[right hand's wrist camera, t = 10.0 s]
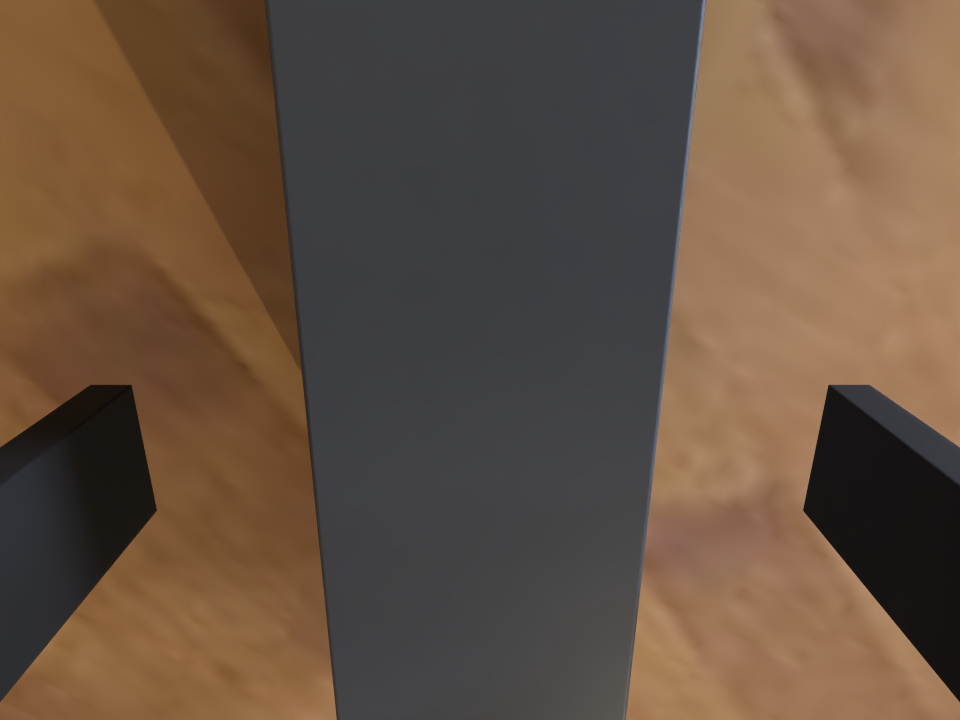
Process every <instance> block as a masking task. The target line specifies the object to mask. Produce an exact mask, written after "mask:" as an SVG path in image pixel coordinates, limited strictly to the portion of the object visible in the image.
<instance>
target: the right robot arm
mask: <svg viewBox="0 0 960 720" xmlns="http://www.w3.org/2000/svg"><path fill="white" fill-rule="evenodd" d="M156 511H157V509H156V504H155V499H154V494H153V489H152V484H151V479H150V474H149V469H148V464H147V460H146V455H145V450H144V445H143V440H142V435H141V430H140V425H139V420H138V415H137V410H136V405H135V400H134V395H133V391H132V386H131V385H90V386H88V387H87V388H86V389H84V390H83V391H81V392H80V393H78V394H77V395H75V396H74V397H73V398H71V399H70V400H68V401H67V402H65V403H64V404H62V405H61V406H60V407H58V408H57V409H55V410H54V411H52V412H51V413H50V414H48V415H47V416H45V417H44V418H42V419H41V420H39V421H38V422H37V423H35V424H34V425H32V426H31V427H29V428H28V429H26V430H25V431H24V432H22V433H21V434H19V435H18V436H16V437H15V438H13V439H12V440H11V441H9V442H8V443H6V444H5V445H3V446H2V447H0V702H1V700H2V699H3V698H4V697H5V696H6V694H7V693H8V692H9V691H10V689H11V688H12V687H13V686H14V685H15V683H16V682H17V681H18V680H19V678H20V677H21V676H22V675H23V674H24V672H25V671H26V670H27V669H28V667H29V666H30V665H31V664H32V663H33V661H34V660H35V659H36V658H37V656H38V655H39V654H40V653H41V652H42V650H43V649H44V648H45V647H46V645H47V644H48V643H49V642H50V640H51V639H52V638H53V637H54V636H55V634H56V633H57V632H58V631H59V629H60V628H61V627H62V626H63V625H64V623H65V622H66V621H67V620H68V618H69V617H70V616H71V615H72V614H73V612H74V611H75V610H76V609H77V607H78V606H79V605H80V604H81V603H82V601H83V600H84V599H85V598H86V596H87V595H88V594H89V593H90V592H91V590H92V589H93V588H94V587H95V585H96V584H97V583H98V582H99V581H100V579H101V578H102V577H103V576H104V574H105V573H106V572H107V571H108V570H109V568H110V567H111V566H112V565H113V563H114V562H115V561H116V560H117V559H118V557H119V556H120V555H121V554H122V552H123V551H124V550H125V549H126V548H127V546H128V545H129V544H130V543H131V541H132V540H133V539H134V538H135V537H136V535H137V534H138V533H139V532H140V530H141V529H142V528H143V527H144V526H145V524H146V523H147V522H148V521H149V519H150V518H151V517H152V516H153V515H154V513H155V512H156ZM803 511H804V512H805V513H806V515H807V516H808V517H809V518H810V519H811V521H812V522H813V523H814V524H815V526H816V527H817V528H818V529H819V530H820V532H821V533H822V534H823V535H824V537H825V538H826V539H827V540H828V541H829V543H830V544H831V545H832V546H833V548H834V549H835V550H836V551H837V552H838V554H839V555H840V556H841V557H842V559H843V560H844V561H845V562H846V563H847V565H848V566H849V567H850V568H851V570H852V571H853V572H854V573H855V574H856V576H857V577H858V578H859V579H860V581H861V582H862V583H863V584H864V585H865V587H866V588H867V589H868V590H869V592H870V593H871V594H872V595H873V596H874V598H875V599H876V600H877V601H878V603H879V604H880V605H881V606H882V607H883V609H884V610H885V611H886V612H887V614H888V615H889V616H890V617H891V618H892V620H893V621H894V622H895V623H896V625H897V626H898V627H899V628H900V629H901V631H902V632H903V633H904V634H905V636H906V637H907V638H908V639H909V640H910V642H911V643H912V644H913V645H914V647H915V648H916V649H917V650H918V652H919V653H920V654H921V655H922V656H923V658H924V659H925V660H926V661H927V663H928V664H929V665H930V666H931V667H932V669H933V670H934V671H935V672H936V674H937V675H938V676H939V677H940V678H941V680H942V681H943V682H944V683H945V685H946V686H947V687H948V688H949V689H950V691H951V692H952V693H953V694H954V696H955V697H956V698H957V699H958V700H959V702H960V447H958V446H957V445H955V444H954V443H952V442H951V441H949V440H948V439H947V438H945V437H944V436H942V435H941V434H939V433H938V432H936V431H935V430H934V429H932V428H931V427H929V426H928V425H926V424H925V423H923V422H922V421H921V420H919V419H918V418H916V417H915V416H913V415H912V414H910V413H909V412H908V411H906V410H905V409H903V408H902V407H900V406H899V405H898V404H896V403H895V402H893V401H892V400H890V399H889V398H887V397H886V396H885V395H883V394H882V393H880V392H879V391H877V390H876V389H874V388H873V387H872V386H870V385H829V386H828V391H827V395H826V400H825V405H824V410H823V415H822V420H821V425H820V430H819V435H818V440H817V445H816V450H815V455H814V460H813V464H812V469H811V474H810V479H809V484H808V489H807V494H806V499H805V504H804V509H803Z"/></svg>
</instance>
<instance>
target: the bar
mask: <svg viewBox="0 0 960 720" xmlns="http://www.w3.org/2000/svg"><path fill="white" fill-rule="evenodd" d="M705 5H706V0H265V8H266V18H267V28H268V38H269V48H270V58H271V68H272V78H273V88H274V98H275V108H276V118H277V128H278V137H279V147H280V157H281V167H282V177H283V187H284V197H285V207H286V217H287V227H288V237H289V247H290V257H291V267H292V277H293V287H294V297H295V307H296V317H297V327H298V337H299V347H300V357H301V367H302V377H303V387H304V397H305V407H306V417H307V427H308V437H309V446H310V456H311V466H312V476H313V486H314V496H315V506H316V516H317V526H318V536H319V546H320V556H321V566H322V576H323V586H324V596H325V606H326V616H327V626H328V636H329V646H330V656H331V666H332V676H333V686H334V696H335V706H336V716H337V720H626V712H627V703H628V694H629V685H630V676H631V667H632V658H633V649H634V640H635V632H636V623H637V614H638V605H639V596H640V587H641V578H642V569H643V560H644V551H645V542H646V533H647V524H648V515H649V506H650V497H651V488H652V479H653V470H654V462H655V453H656V444H657V435H658V426H659V417H660V408H661V399H662V390H663V381H664V372H665V363H666V354H667V345H668V336H669V327H670V318H671V309H672V301H673V292H674V283H675V274H676V265H677V256H678V247H679V238H680V229H681V220H682V211H683V202H684V193H685V184H686V175H687V166H688V157H689V148H690V139H691V131H692V122H693V113H694V104H695V95H696V86H697V77H698V68H699V59H700V50H701V41H702V32H703V23H704V14H705Z"/></svg>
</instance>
